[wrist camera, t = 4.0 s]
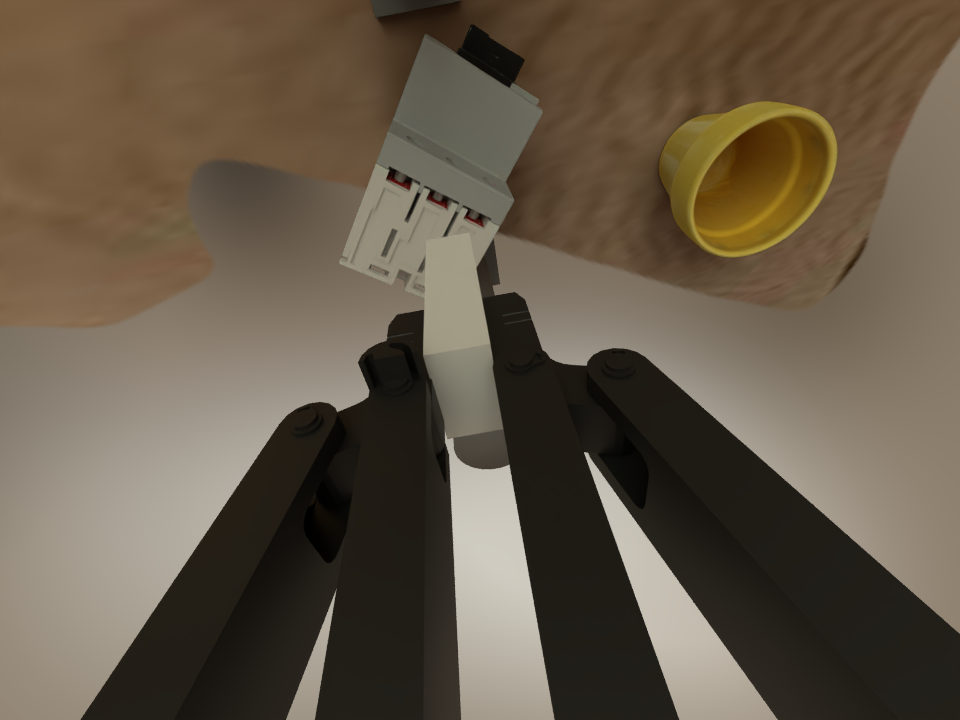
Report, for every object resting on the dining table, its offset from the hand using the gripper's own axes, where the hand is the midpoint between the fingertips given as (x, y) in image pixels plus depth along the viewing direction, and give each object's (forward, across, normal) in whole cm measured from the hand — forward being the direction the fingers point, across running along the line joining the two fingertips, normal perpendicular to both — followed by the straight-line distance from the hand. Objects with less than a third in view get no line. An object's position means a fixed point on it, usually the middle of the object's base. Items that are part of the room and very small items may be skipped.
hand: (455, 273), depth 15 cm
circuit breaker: (+26, 0, 0) cm, 26 cm away
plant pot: (+26, +22, -6) cm, 34 cm away
